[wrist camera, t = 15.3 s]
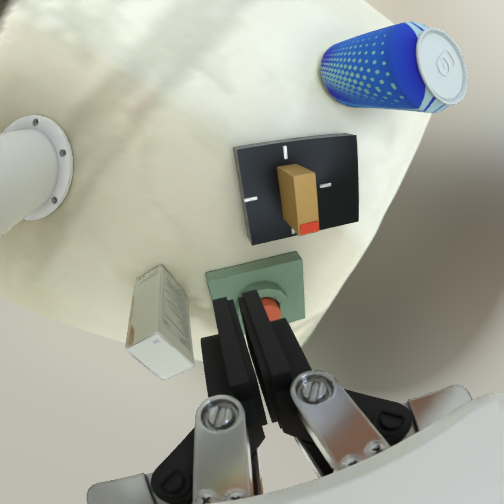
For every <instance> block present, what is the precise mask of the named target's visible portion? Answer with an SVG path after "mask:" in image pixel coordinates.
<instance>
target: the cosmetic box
mask: <svg viewBox="0 0 504 504" xmlns="http://www.w3.org/2000/svg"><path fill="white" fill-rule="evenodd" d="M125 350H126V351H127V352H128V353H129V354H131V355H132V356H133V357H134V358H135V359H136V360H137V361H138V362H140V363H141V364H142V365H143V366H144V367H146V368H147V369H148V370H149V371H151V372H152V373H153V374H155V375H156V376H158V377H159V378H160V379H161V380H166V379H168V378H171V377H173V376H176V375H178V374H181V373H183V372H185V371H188V370H190V369H192V368H194V367H195V365H194V357H193V349H192V339H191V330H190V320H189V309H188V298H187V295H186V294H185V293H184V292H183V290H182V289H181V288H180V286H179V285H178V284H177V283H176V281H175V280H174V279H173V278H172V277H171V275H170V274H169V273H168V272H167V270H166V269H165V268H164V267H163V266H162V265H160V266H158V267H156V268H155V269H153V270H151V271H149V272H148V273H146V274H144V275H143V276H141V277H140V278H138V279H137V280H136V283H135V289H134V294H133V300H132V306H131V312H130V318H129V325H128V332H127V339H126V347H125Z"/></svg>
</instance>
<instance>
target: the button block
mask: <svg viewBox="0 0 504 504" xmlns="http://www.w3.org/2000/svg"><path fill="white" fill-rule="evenodd" d="M206 278H207V283H208V287H209V290H210V294H211V298H212V300H214V299H218V298H222V297H227V300H231V299H233V300H234V304H235V307H236V311H237V314H238V318H239V321H240V325H241V328H242V332H243V335H245V330H244V326H243V321H242V317H241V312H240V307H239V303H238V298H239V297H243V296H242V293H243V292H247V291H251V290H255V289H256V290H257V291H258V294H259V296H260V298H265V297H267V298H272V299H273V300H275V301H276V303H277V305H278V307H279V309H280V311H281V317H280V319H281V318H286V319H287V321H288V323H290V322H293V321H297V320H300V319H304V318H305V306H304V284H303V266H302V258H301V257H300V256H299V254H298V253H297V252H296V251H295V252H291V253H287V254H283V255H279V256H274V257H270V258H266V259H262V260H258V261H253V262H249V263H245V264H241V265H236V266H232V267H228V268H224V269H219V270H215V271H211V272H207V273H206Z"/></svg>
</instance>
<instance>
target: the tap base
mask: <svg viewBox="0 0 504 504" xmlns="http://www.w3.org/2000/svg"><path fill="white" fill-rule="evenodd" d="M233 150H234V156H235V162H236V168H237V174H238V180H239V186H240V192H241V199H242V205H243V211H244V217H245V223H246V229H247V235H248V238H249V240H250V242H251V244H252V245H256V244H261V243H265V242H270V241H274V240H278V239H283V238H287V237H291V236H296V235H298V234H297V233H296V232H295V231H294V230H293V229H292V227H291V226H290V225H289V224H288V223H287V222H286V221H285V220H284V219H283V212H282V204H281V196H280V188H279V180H278V172H277V167H279V166H285V165H291V164H298V165H300V166H302V167H304V168H306V169H308V170H310V171H313V172H315V177H316V189H317V202H318V217H319V230H322V229H327V228H331V227H336V226H340V225H345V224H349V223H354V222H358V221H359V186H358V155H357V138H356V135H353V134H347V133H343V134H330V135H319V136H309V137H300V138H292V139H284V140H276V141H269V142H263V143H256V144H250V145H244V146H238V147H234V148H233Z"/></svg>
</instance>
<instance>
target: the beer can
mask: <svg viewBox="0 0 504 504" xmlns="http://www.w3.org/2000/svg"><path fill="white" fill-rule="evenodd" d="M321 77H322V80H323V83H324V85H325V87H326V89H327V91H328V92H329V93H330V94H331V96H332V97H333V98H334V99H336V100H337V101H338V102H340V103H342V104H344V105H346V106H349V107H359V108H382V109H396V110H408V111H417V112H426V113H437V112H440V111H442V110H444V109H445V108H447V107H448V106H449V105H455V104H457V103H459V102H460V101H461V100H462V99H463V97H464V95H465V93H466V90H467V85H468V74H467V67H466V64H465V60H464V57H463V55H462V53H461V51H460V49H459V47H458V46H457V44H456V43H455V41H454V40H453V39H452V38H451V37H450V36H449V35H448V34H447V33H445V32H444V31H442V30H439V29H436V28H429V27H427V26H425V25H423V24H420V23H417V22H405V23H400V24H397V25H393V26H389V27H386V28H382V29H379V30H375V31H372V32H369V33H366V34H363V35H360V36H357V37H354V38H351V39H348V40H345V41H343V42H340V43H337V44H335V45H333V46H331V47H330V48H329V49H328V50H327V51H326V52H325V54H324V55H323V58H322V61H321Z"/></svg>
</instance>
